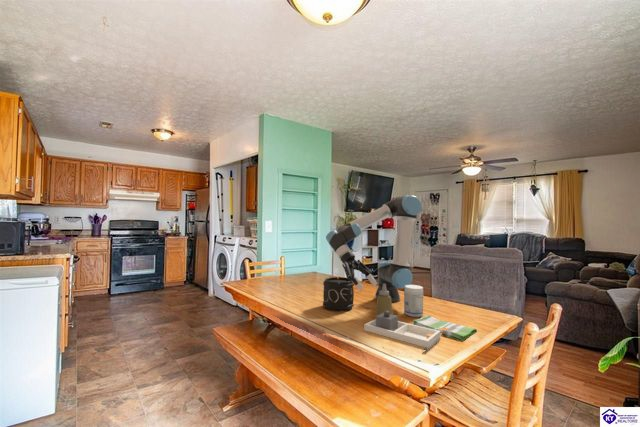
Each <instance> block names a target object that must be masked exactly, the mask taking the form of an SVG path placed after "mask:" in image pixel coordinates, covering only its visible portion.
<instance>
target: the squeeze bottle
mask: <svg viewBox="0 0 640 427" xmlns="http://www.w3.org/2000/svg"><path fill="white" fill-rule="evenodd" d="M379 294H380V295H378V297H377V300H376V307H375V308H376V309H375V314H376V316H378V315H380V314H382V313H384V311H390V314H392V315H394V313H393V305H392V303H393V302H391V297H390V296H389V291H387V289H386V284H383V287H382V290H381V291H379Z"/></svg>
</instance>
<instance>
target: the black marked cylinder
mask: <svg viewBox="0 0 640 427" xmlns="http://www.w3.org/2000/svg"><path fill="white" fill-rule="evenodd" d="M322 284H323V301H322V306H323V307H324V309H325V310H327V311H329V312H339V313H340V312H349V311H350V310H353V307H354V305H355V304H354V297H355V296H354V295H355V294H354V292H355V291H354V286H355V284H354V283H353V281H349V280H348V279H347V277H342V276H341V277H340V276H339V277H337V276H332V277H331V276H330V277H326V278H325V279H324V281H323V283H322Z"/></svg>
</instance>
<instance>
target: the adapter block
mask: <svg viewBox="0 0 640 427" xmlns="http://www.w3.org/2000/svg"><path fill="white" fill-rule="evenodd" d="M398 317H399V316H398V315H395V314H390V311H384V313H382V314H380V315H378V316H377V315H376V316H375V319H376V327H380V328H383V329H387V330H391V331H395V330H397V329H398V321H399V318H398Z"/></svg>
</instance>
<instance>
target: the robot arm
mask: <svg viewBox="0 0 640 427" xmlns="http://www.w3.org/2000/svg"><path fill="white" fill-rule="evenodd" d="M422 208H423V204H422V201H421V200H420V199H419V198H418V197H417V196H415V195H409V194H407V195H402V196H398V197H395V198H394V199H391V200H389V201H388V202H385V203H384V204H382V206H381V207H379V208H376V209H374V210H372V211H370V212H369V213H366V214H364V215H362V216H360V217H358V218H356V219H354V220H352V221H349V222H348V223H346V224H342V225H339V226H337V227H336V229H334V230H331V231H329V232H328V233H327V234H326V236H325V240H326V241H327V242H328V244H329V246H330V248H332V250H333V251H334V253H335V254H336V255H337V257H338V259H340V262H342V265H341V266H342V268H343V270H344V272H345V276H346V277H345V278H347V279H348V280H349V281H352V282H353V284H354V286H355V287H356V288H357V289H358V291H359V292H361V291H362V290H364V286H363V284H362V283H361V282H360V280H359V279H358V277H356V276H355V271H358V272H361V274H363V275H365V276H366V278H367V280H368V281H369V282H370V284H371V285H372V286H373V288H374V287H376V286H377V288H376V292H375V295H374V296H375V298H374V299H375V300H376V301H377V297H378V295H380V294H379V291H381V290H382V287H383V284H386V289H387V291H389V296H390V297H391V302H392V303H398V302H400V301H401V296H400V292H399V289H404V288H405V286H406V285H412V282H413V273H412V271H410V270H411V265H410V263H409V259H410V257H409V256H410V249H411V243H412V235H413V227H414V222H416V221H417V219H418V218H417V217H418V215H419V214H420V213H421V211H422ZM394 217H396V218H397V220H398V221H397V228H396V237H395V243H394V250H393V257H392V260H391V261H390V262H379V263H378V265H377V278H378V279H377V280H376V279H375V278H374V276H373V275H372V273H373V271H372V270H371V269H370V268H369V267H368V266H366V265H365V264H364V263H363V262H362V261H361V260H360V259H357V260H356V256H355V254H354V253H353V251H352V250H351V248H350V247H349V245H348V243H349V242H351V241H353V240H354V239H356V238H358V237H359V236H361V234H362V233H363V232H362V231H363V230H366V229H367V228H369V227H371V226H373V225H375V224H377V223H379V222H381V221H384V220H385V219H391V218H394Z"/></svg>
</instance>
